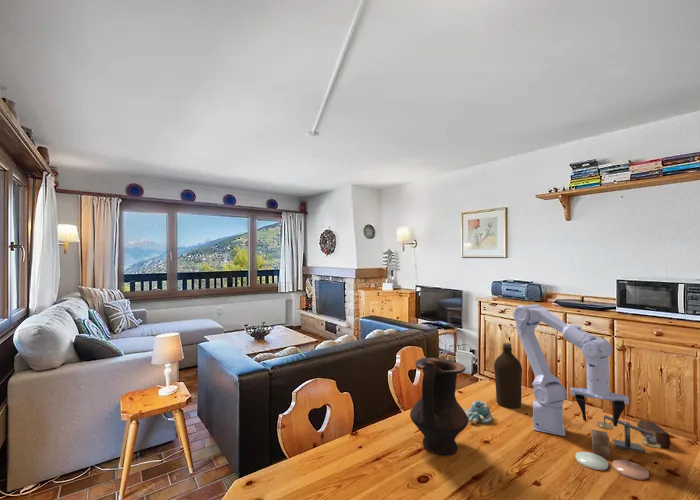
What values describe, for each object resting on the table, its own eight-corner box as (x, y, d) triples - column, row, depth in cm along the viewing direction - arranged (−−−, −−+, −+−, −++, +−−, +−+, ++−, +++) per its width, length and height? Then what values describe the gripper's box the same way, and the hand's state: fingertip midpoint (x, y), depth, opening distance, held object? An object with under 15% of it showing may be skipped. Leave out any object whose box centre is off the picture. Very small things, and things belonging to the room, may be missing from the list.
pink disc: (615, 474, 95) (615, 471, 95) (610, 459, 102) (610, 457, 102) (652, 483, 91) (652, 480, 91) (644, 467, 98) (644, 464, 98)
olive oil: (509, 411, 135) (507, 348, 136) (489, 401, 145) (487, 342, 146) (529, 406, 139) (527, 345, 140) (508, 397, 149) (506, 339, 150)
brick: (671, 449, 108) (670, 434, 108) (656, 447, 109) (655, 432, 109) (650, 432, 118) (650, 419, 118) (637, 431, 119) (636, 417, 119)
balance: (598, 444, 111) (597, 416, 111) (596, 437, 115) (595, 411, 115) (663, 457, 103) (661, 428, 103) (658, 450, 107) (657, 421, 107)
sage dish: (576, 465, 100) (576, 462, 100) (574, 451, 107) (574, 449, 107) (610, 473, 96) (610, 470, 96) (606, 458, 103) (606, 456, 103)
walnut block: (593, 454, 105) (592, 434, 105) (592, 448, 109) (591, 429, 109) (609, 458, 103) (608, 438, 103) (607, 451, 107) (606, 432, 107)
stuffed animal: (456, 407, 128) (468, 391, 137) (458, 424, 129) (470, 408, 138) (485, 415, 121) (496, 398, 130) (487, 433, 122) (498, 415, 131)
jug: (420, 427, 124) (419, 344, 125) (474, 440, 114) (471, 350, 115) (399, 456, 105) (397, 359, 106) (460, 475, 96) (457, 367, 97)
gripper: (571, 378, 107) (572, 422, 106) (630, 386, 99) (632, 433, 99) (569, 371, 113) (571, 413, 112) (625, 378, 106) (627, 423, 105)
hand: (599, 422), depth 106 cm, fingers open, 7 cm apart
